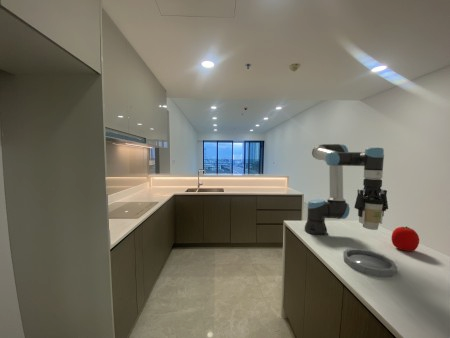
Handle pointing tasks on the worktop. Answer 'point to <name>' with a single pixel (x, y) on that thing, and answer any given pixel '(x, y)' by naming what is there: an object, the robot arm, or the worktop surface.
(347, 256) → the tray
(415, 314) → the worktop surface
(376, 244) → the worktop surface
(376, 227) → the coffee cup
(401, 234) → the tomato
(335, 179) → the robot arm
